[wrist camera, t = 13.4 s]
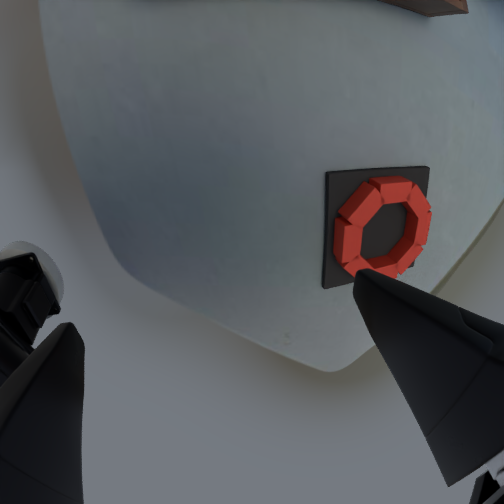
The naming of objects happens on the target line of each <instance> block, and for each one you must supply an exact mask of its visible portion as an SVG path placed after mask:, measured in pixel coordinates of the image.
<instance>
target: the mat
mask: <svg viewBox="0 0 504 504" xmlns="http://www.w3.org/2000/svg"><path fill="white" fill-rule="evenodd" d="M429 171H430V168H429V167H427V166H415V167H390V168H372V169H357V170H344V171H332V172H326V217H325V244H324V264H323V280H322V287H323V288H324V289H328V288H332V287H337V286H341V285H345V284H349V283H353V282H354V280H355V277H353V276H352V275H351V274H350V273H349V272H347V271H346V270H345V269H344V268H343V267H342V266H341V265H340V264H339V262H338V261H337V260H336V259H335V257H336V256H335V255H334V254H333V247H334V230H335V218H337V217H343V216H342V215H341V214H340V213H339V212H338V211H339V209H340V208H341V207H342V206H343V205H344V204H345V203H346V201H347V200H348V199H349V198H350V197H351V196H352V194H353V193H354V192H355V191H356V190H357V189H358V187H359V186H360V185H361V184H362V183H363V182H364V181H365V182H367V183H368V184H369V178H374V177H388V176H402V177H404V178H406V179H408V180H410V181H412V182H414V183H416V184H417V186H418V187H419V189H420V190H421V192H422V193H423V195H424V196H425V198H426V196H427V188H428V180H429ZM406 217H407V210H406V208H405V207H404V206H403V204H402V203H401V202H397V203H390V204H383V205H382V206H381V207H380V209H379V210H378V211H377V212H376V213H375V214H374V216H373V217H372V218H371V219H370V220H369V221H368V223H367V224H366V225H365V226H364V227H363V232H362V241H361V250H360V255H361V256H362V257H363V258H364V259H365V260H366V259H370V258H375V257H379V256H383V255H387V254H388V253H389V252H390V251H391V249H392V248H393V247H394V246H395V245H396V244H397V242H398V241H399V240H400V239H401V238H402V237H403V235H404V230H405V224H406ZM414 261H415V260H414ZM414 261H413V262H412V263H411V264H410V265H409V267H408V268H410V267H413V266H414Z"/></svg>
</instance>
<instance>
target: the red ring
mask: <svg viewBox="0 0 504 504" xmlns="http://www.w3.org/2000/svg"><path fill="white" fill-rule="evenodd" d="M397 202H401V203H402V204H403V206H404V207H405V208H406V210H407V217H406V224H405V230H404V235H403V237H402V238H401V239H400V240H399V241H398V242H397V244H396V245H395V246H394V247H393V248H392V249H391V251H390V252H389V253H388V254H387V255H383V256H379V257H375V258H370V259H366V260H365V259H364V258H363V257H362V256H361V255H360V250H361V241H362V232H363V227H364V226H365V225H366V224H367V223H368V221H369V220H370V219H371V218H372V217H373V216H374V214H375V213H376V212H377V211H378V210H379V209H380V207H381V206H382V205H383V204H390V203H397ZM430 208H431V206H430V205H429V203H428V201H427V200H426V198H425V196H424V195H423V193H422V192H421V190H420V189H419V187H418V186H417V184H416V183H414V182H412V181H410V180H408V179H406V178H404V177H402V176H388V177H374V178H369V184H368V183H367V182H365V181H364V182H363V183H362V184H361V185H360V186H359V187H358V189H357V190H356V191H355V192H354V193H353V194H352V196H351V197H350V198H349V199H348V200H347V201H346V203H345V204H344V205H343V206H342V207H341V208H340V209H339V211H338V212H339V213H340V214H341V215H342V216H343V217H337V218H335V230H334V247H333V254H334V255H335V256H336V257H335V259H336V260H337V261H338V262H339V264H340V265H341V266H342V267H343V268H344V269H345V270H346V271H347V272H349V273H350V274H351V275H352V276H353V277H355V274H356V272H357V271H358V270H361V269H365V268H370V269H372V270H374V271H377V272H379V273H382V274H384V275H386V276H389V277H391V278H397V274H398V273H399V274H400V275H401V274H402V273H403V272H404V271H405V270H406V269H407V268H408V267H409V265H410V264H411V263H412V262H413V261H414V260H415V259H416V257H417V256H418V255H419V254H420V253H421V252H422V250H423V248H422V247H421V245H425V244H426V241H427V236H428V231H429V226H430V221H431V215H432V212H431V211H429V209H430Z"/></svg>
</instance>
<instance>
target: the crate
mask: <svg viewBox="0 0 504 504" xmlns="http://www.w3.org/2000/svg"><path fill="white" fill-rule="evenodd" d="M378 1H382V2H386V3H389V4H393V5H396V6H399V7H402V8H405V9H408V10H411V11H414V12H417V13H420V14H422V15H425V16H428V17H435V16H443V15H453V14H467V13H469V12H468V6H467V1H466V0H378Z"/></svg>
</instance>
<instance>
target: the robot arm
mask: <svg viewBox="0 0 504 504" xmlns="http://www.w3.org/2000/svg"><path fill="white" fill-rule="evenodd" d="M30 257H32V259H33V260H32V259H31V258H30ZM353 297H354V299H355V302H356V304H357V306H358V308H359V310H360V313H361V315H362V317H363V319H364V322H365V324H366V326H367V328H368V331H369V333H370V335H371V337H372V339H373V340H374V342H375V344H376V346H377V347H378V349H379V351H380V353H381V354H382V356H383V358H384V360H385V362H386V363H387V365H388V367H389V369H390V371H391V373H392V374H393V376H394V378H395V380H396V382H397V384H398V386H399V387H400V389H401V391H402V393H403V395H404V397H405V399H406V401H407V403H408V404H409V406H410V408H411V410H412V412H413V414H414V416H415V418H416V420H417V422H418V424H419V426H420V428H421V430H422V432H423V434H424V436H425V437H426V441H427V443H428V445H429V447H430V449H431V451H432V453H433V455H434V457H435V460H436V462H437V464H438V466H439V468H440V471H441V473H442V475H443V477H444V479H445V482H446V484H447V486H448V487H450V486H451V485H453V484H455V483H456V482H458V481H460V480H461V479H463V478H464V477H466V476H467V475H469V474H470V473H472V472H474V471H475V470H477V469H478V468H480V467H481V466H482V465H483V464H485V465H486V467H487V470H486V471H485V472H484V473H482V474H481V475H480V476H479V477H478V478H476V481H475V485H474V489H473V492H472V496H471V499H470V503H469V504H504V325H503V324H500V323H497V322H494V321H492V320H489V319H487V318H484V317H482V316H479V315H477V314H475V313H472V312H470V311H468V310H465V309H463V308H461V307H459V308H458V306H456V305H454V304H452V303H450V302H447V301H445V300H443V299H440V298H438V297H436V296H434V295H431V294H429V293H427V292H424V291H422V290H420V289H417V288H415V287H413V286H410V285H408V284H406V283H403V282H401V281H398V280H396V279H394V278H391V277H389V276H386V275H384V274H382V273H379V272H377V271H374V270H372V269H370V268H365V269H361V270H358V271H357V272H356V274H355V280H354V287H353ZM55 308H56V309H57V310H56V309H55ZM60 311H61V307H60V305H59V303H58V301H57V299H56V297H55V295H54V293H53V291H52V289H51V287H50V284H49V282H48V280H47V278H46V276H45V274H44V272H43V270H42V268H41V265H40V263H39V261H38V258H37V256H36V254H35V253H33V252H29V253H25V254H21V255H17V256H14V257H10V258H6V259H2V260H0V504H84V500H83V486H82V458H81V457H82V456H81V445H82V444H81V443H82V414H83V399H84V354H85V346H84V342H83V340H82V338H81V336H80V334H79V333H78V331H77V329H76V327H75V326H74V324H73V323H71V322H68V323H61V324H60V325H58V326H57V328H55V330H54V331H52V332H51V334H49V336H47V338H46V339H45V340H44V341H43V342H42V343H41V344H40V345H39V346H38V347H37V348H36V349H34V348H32V346H31V345H33V343H34V340H35V338H36V335H37V333H38V331H39V328H42V326H43V324H44V322H45V319H46V317H47V316H50V315H57V314H59V313H60Z"/></svg>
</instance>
